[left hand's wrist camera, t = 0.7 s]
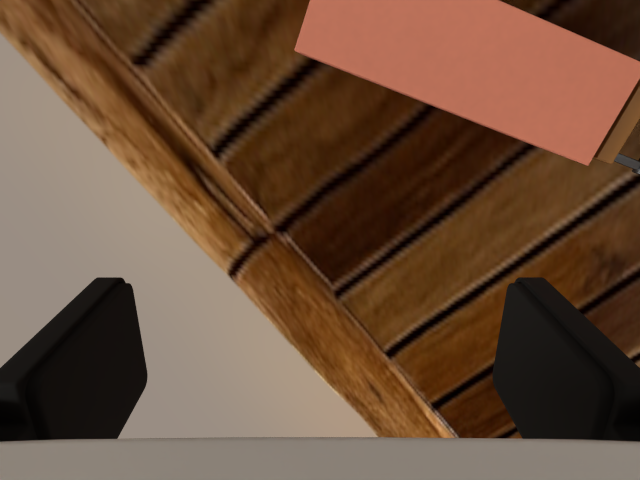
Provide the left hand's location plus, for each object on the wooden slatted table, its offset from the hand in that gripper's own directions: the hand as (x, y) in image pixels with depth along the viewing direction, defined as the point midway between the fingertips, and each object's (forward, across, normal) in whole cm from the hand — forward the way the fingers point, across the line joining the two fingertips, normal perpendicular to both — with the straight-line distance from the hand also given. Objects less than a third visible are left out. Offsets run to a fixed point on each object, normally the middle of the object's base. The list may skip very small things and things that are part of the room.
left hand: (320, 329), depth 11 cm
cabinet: (+28, -9, -7) cm, 30 cm away
